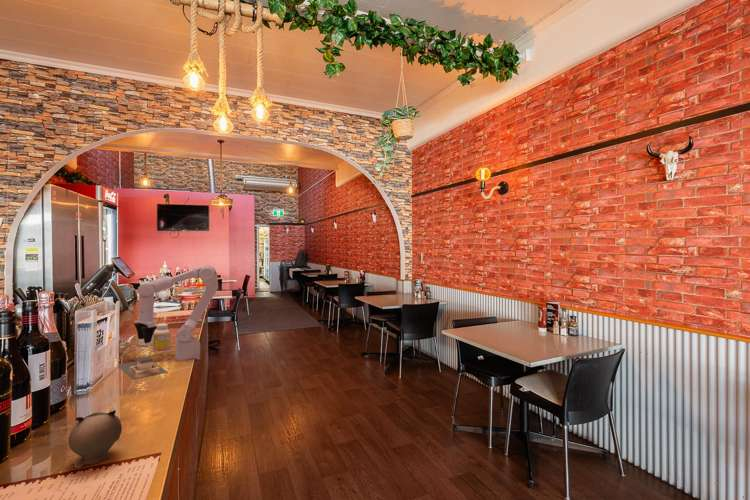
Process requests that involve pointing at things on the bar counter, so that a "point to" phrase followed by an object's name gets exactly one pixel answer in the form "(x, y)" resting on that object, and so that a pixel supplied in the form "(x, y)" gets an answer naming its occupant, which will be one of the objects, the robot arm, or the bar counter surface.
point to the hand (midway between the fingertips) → (144, 340)
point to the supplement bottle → (161, 338)
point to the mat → (126, 366)
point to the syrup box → (141, 341)
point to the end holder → (144, 371)
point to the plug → (144, 363)
